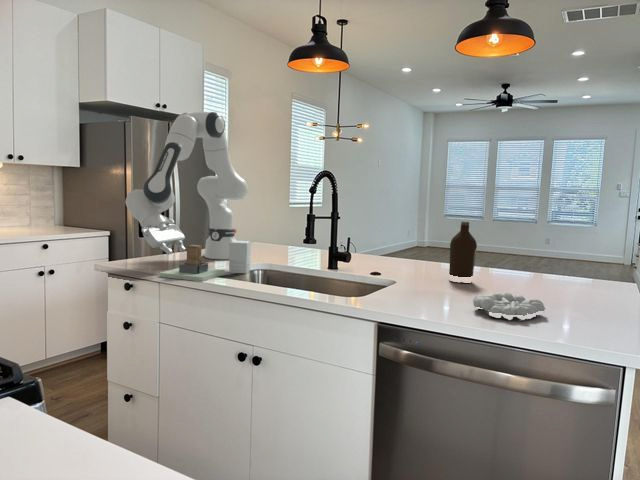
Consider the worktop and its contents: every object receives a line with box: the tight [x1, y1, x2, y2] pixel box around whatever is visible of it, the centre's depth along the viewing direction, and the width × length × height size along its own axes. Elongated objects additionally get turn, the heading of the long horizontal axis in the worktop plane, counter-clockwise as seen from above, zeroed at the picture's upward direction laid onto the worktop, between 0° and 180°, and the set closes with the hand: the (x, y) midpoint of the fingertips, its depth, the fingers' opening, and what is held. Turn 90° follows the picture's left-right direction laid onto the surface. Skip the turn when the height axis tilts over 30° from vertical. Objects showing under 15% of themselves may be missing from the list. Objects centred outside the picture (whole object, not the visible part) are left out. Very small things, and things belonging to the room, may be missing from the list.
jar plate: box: [159, 267, 226, 282], centre depth 192 cm, size 18×18×2 cm
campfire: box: [472, 292, 546, 316], centre depth 155 cm, size 22×21×6 cm
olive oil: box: [448, 221, 478, 277], centre depth 205 cm, size 11×11×25 cm
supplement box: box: [228, 240, 252, 274], centre depth 204 cm, size 7×7×13 cm
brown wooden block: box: [186, 244, 202, 266], centre depth 191 cm, size 4×4×10 cm
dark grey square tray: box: [178, 261, 209, 274], centre depth 192 cm, size 8×8×3 cm
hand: (177, 252), depth 193 cm, fingers open, 8 cm apart
